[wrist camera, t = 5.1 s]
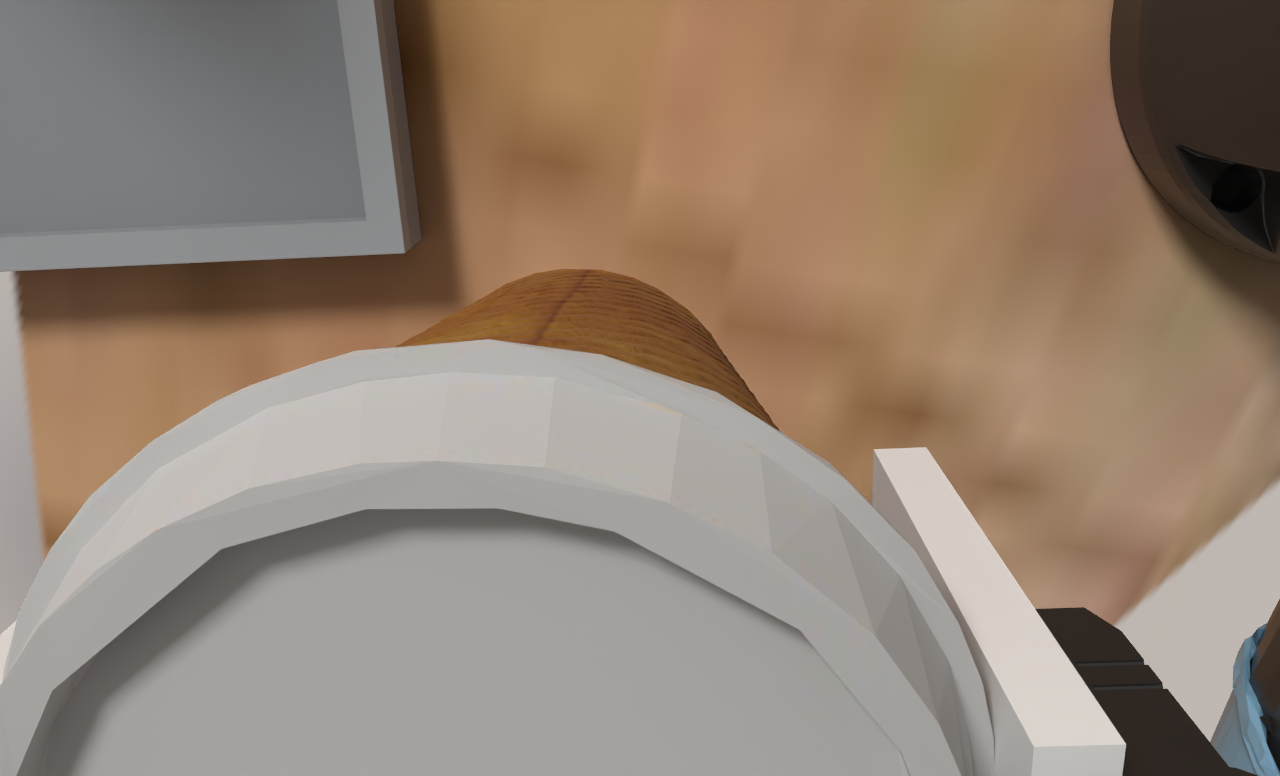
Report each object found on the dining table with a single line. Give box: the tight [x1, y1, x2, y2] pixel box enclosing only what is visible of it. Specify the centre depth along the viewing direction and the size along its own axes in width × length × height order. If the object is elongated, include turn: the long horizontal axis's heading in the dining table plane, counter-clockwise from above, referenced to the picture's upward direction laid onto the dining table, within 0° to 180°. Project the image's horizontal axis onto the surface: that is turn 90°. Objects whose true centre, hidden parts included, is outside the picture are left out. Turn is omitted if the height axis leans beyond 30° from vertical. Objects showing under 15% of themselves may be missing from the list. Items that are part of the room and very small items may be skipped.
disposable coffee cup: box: [0, 269, 994, 776], centre depth 14 cm, size 10×10×12 cm
